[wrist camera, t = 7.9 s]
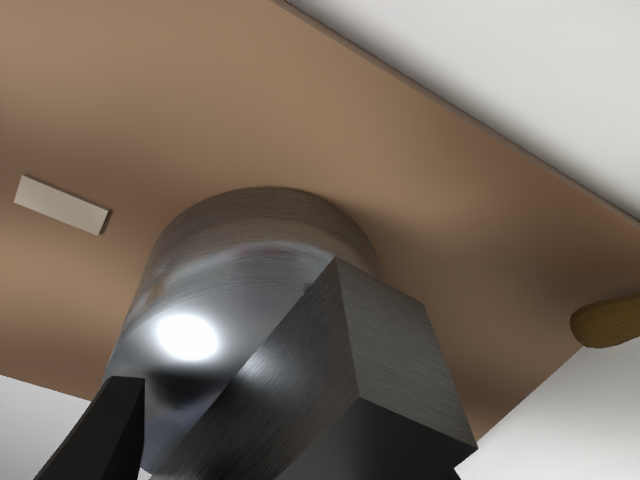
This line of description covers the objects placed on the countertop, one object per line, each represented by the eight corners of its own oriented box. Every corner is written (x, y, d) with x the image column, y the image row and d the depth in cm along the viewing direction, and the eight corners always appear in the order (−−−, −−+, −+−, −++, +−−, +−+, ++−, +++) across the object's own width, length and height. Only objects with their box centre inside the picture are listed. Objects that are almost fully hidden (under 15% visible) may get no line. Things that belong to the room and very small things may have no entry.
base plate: (407, 462, 21) (416, 498, 20) (-139, 287, 15) (-181, 324, 14) (651, 228, 16) (685, 257, 14) (-57, -213, 9) (-114, -235, 8)
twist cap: (448, 241, 13) (597, 521, 7) (284, 415, 17) (288, 712, 10) (237, 109, 11) (185, 351, 5) (94, 340, 14) (-47, 663, 8)
